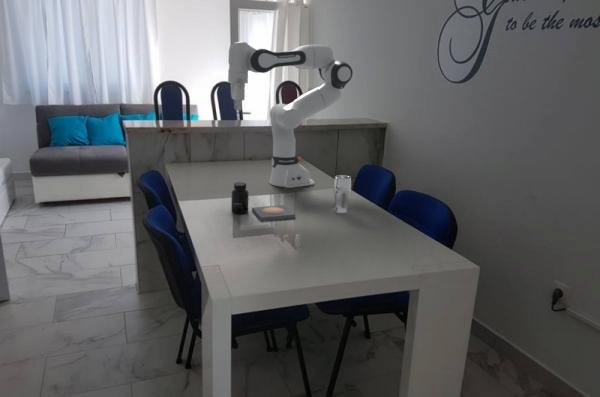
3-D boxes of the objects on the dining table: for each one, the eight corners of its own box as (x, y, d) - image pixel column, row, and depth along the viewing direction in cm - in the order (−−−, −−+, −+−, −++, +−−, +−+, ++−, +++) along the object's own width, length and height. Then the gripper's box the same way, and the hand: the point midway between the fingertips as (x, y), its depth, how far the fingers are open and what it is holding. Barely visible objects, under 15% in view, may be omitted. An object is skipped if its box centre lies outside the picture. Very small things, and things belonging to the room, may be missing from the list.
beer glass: (351, 211, 197) (353, 176, 192) (346, 215, 190) (348, 179, 186) (336, 208, 199) (337, 174, 195) (330, 213, 193) (331, 177, 189)
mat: (284, 208, 197) (284, 204, 197) (295, 218, 186) (295, 214, 185) (252, 211, 192) (252, 207, 192) (260, 221, 181) (260, 217, 180)
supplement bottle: (234, 215, 186) (234, 186, 183) (229, 210, 192) (228, 182, 189) (251, 213, 189) (251, 184, 186) (244, 208, 195) (244, 180, 192)
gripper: (248, 79, 204) (247, 111, 208) (242, 79, 224) (241, 109, 227) (233, 78, 203) (233, 111, 206) (228, 78, 222) (228, 108, 225)
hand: (237, 110), depth 217 cm, fingers open, 8 cm apart
